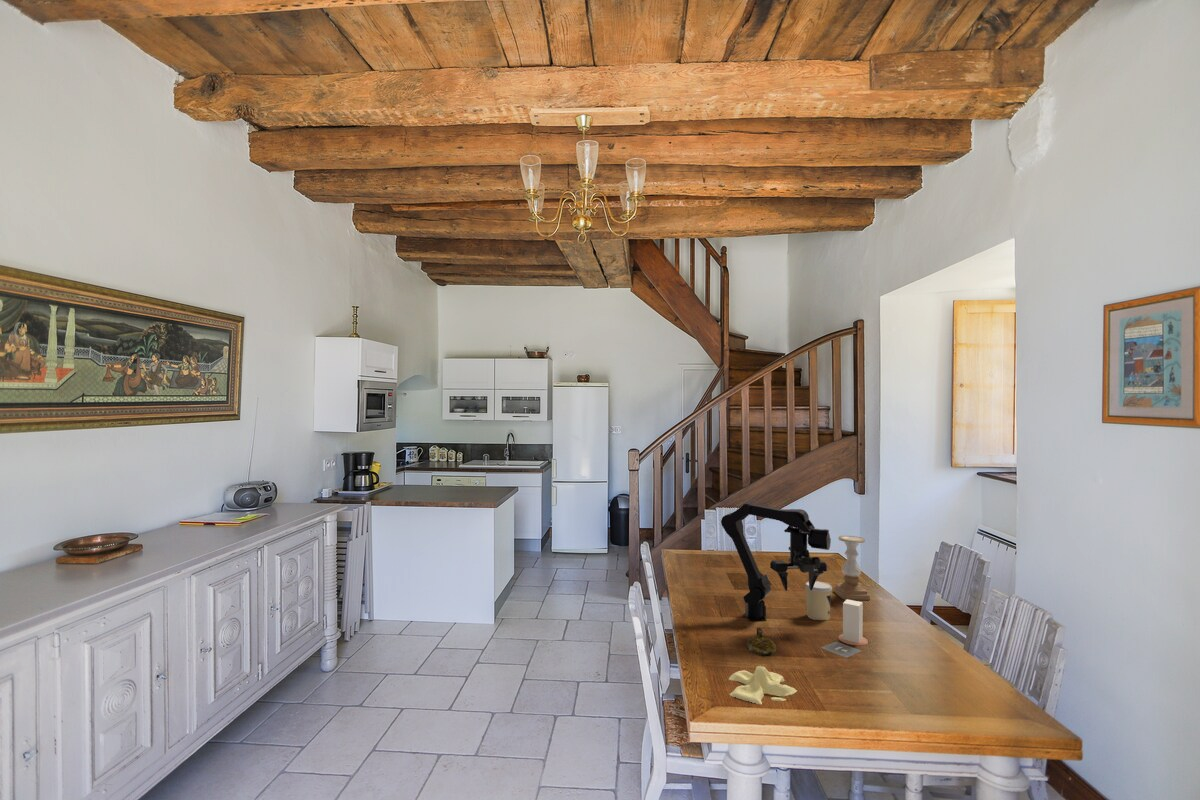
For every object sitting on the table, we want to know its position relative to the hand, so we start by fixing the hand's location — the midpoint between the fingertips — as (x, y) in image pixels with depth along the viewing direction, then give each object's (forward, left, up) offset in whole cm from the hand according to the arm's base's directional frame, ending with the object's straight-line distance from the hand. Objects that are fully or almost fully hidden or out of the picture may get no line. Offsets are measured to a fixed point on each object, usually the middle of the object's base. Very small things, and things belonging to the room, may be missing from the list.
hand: (798, 590), depth 203 cm
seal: (-20, -15, -14) cm, 28 cm away
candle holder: (+38, +32, -13) cm, 51 cm away
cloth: (-29, -42, -14) cm, 53 cm away
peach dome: (+13, -13, -13) cm, 23 cm away
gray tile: (+5, -20, -13) cm, 24 cm away
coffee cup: (+12, +9, -13) cm, 20 cm away
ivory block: (+13, -13, -12) cm, 22 cm away
